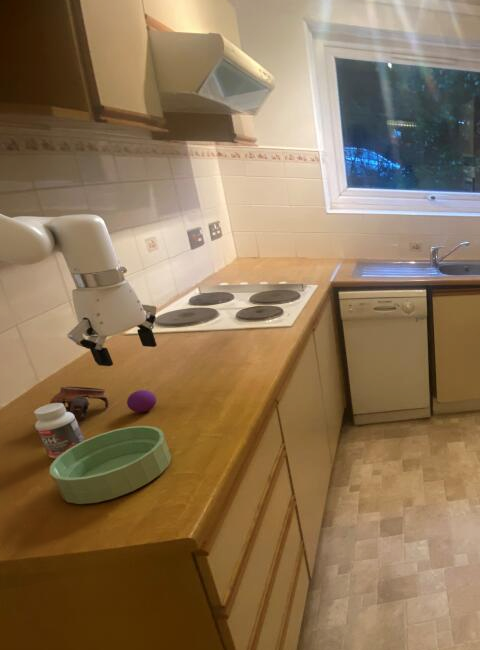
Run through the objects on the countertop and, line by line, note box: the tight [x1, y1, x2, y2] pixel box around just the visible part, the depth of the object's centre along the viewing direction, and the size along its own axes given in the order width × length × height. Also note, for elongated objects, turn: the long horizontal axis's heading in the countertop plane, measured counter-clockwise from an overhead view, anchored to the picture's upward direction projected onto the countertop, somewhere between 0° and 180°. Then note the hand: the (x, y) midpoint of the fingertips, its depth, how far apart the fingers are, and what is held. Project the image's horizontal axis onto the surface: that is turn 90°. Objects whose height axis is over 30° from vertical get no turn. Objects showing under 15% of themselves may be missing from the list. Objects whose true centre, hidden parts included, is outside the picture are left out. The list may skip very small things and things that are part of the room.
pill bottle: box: [33, 403, 86, 459], centre depth 83 cm, size 5×5×10 cm
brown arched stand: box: [49, 386, 109, 423], centre depth 95 cm, size 12×10×8 cm
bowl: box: [49, 425, 173, 505], centre depth 78 cm, size 15×15×6 cm
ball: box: [126, 389, 157, 414], centre depth 98 cm, size 5×5×5 cm
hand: (128, 355), depth 94 cm, fingers open, 9 cm apart
